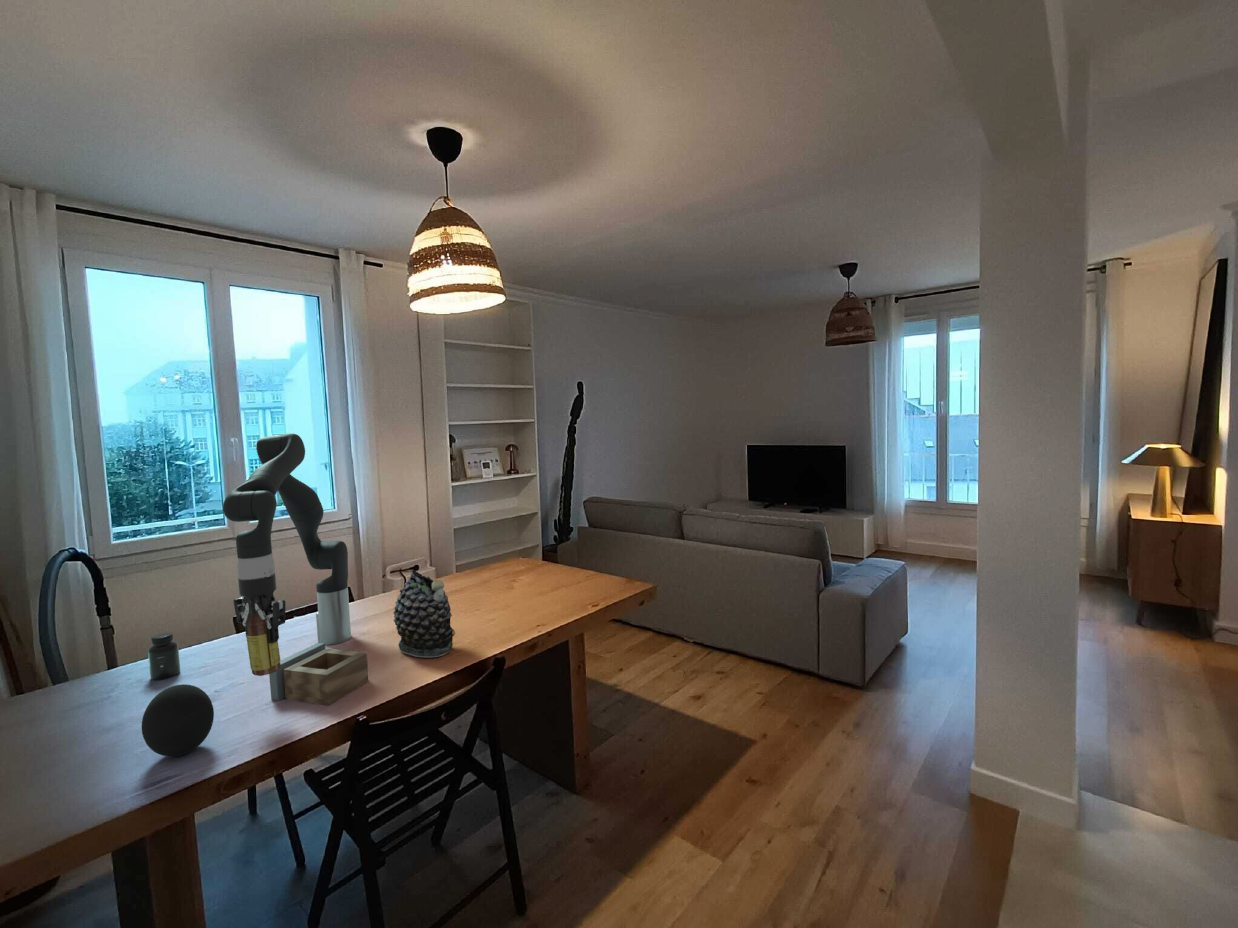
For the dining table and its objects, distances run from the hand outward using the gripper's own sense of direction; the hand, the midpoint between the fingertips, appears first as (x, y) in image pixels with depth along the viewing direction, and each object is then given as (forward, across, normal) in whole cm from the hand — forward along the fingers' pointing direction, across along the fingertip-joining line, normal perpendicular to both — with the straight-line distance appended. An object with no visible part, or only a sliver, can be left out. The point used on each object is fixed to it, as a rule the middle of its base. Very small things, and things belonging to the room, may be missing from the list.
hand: (262, 640), depth 137 cm
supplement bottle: (+20, -52, +11) cm, 57 cm away
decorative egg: (+19, -5, -17) cm, 26 cm away
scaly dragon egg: (+20, +13, +44) cm, 50 cm away
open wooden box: (+19, +4, +15) cm, 24 cm away
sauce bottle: (+8, 0, 0) cm, 8 cm away
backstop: (+19, -6, +15) cm, 25 cm away
